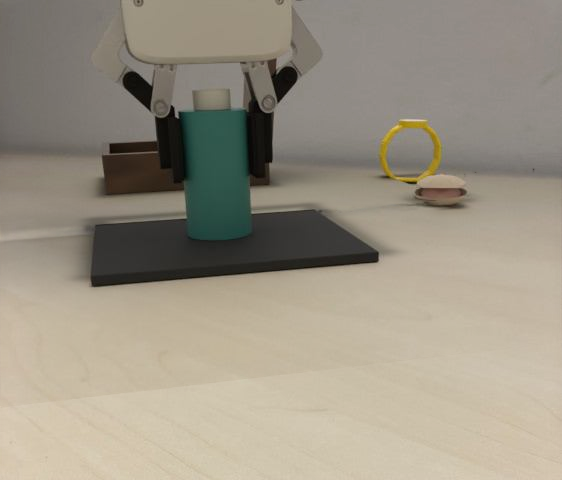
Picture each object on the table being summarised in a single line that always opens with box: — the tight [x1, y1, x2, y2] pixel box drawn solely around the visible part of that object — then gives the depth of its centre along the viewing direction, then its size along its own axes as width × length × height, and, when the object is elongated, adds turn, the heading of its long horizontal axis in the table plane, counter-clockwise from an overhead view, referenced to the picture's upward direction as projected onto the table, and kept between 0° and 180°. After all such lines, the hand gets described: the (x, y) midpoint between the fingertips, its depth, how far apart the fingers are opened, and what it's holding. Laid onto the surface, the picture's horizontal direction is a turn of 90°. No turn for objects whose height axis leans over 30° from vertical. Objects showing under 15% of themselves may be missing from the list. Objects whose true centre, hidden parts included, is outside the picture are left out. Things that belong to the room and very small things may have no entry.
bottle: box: [177, 88, 252, 241], centre depth 47 cm, size 4×4×9 cm
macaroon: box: [414, 173, 468, 207], centre depth 59 cm, size 4×5×2 cm
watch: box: [378, 118, 442, 183], centre depth 70 cm, size 6×3×6 cm, turn 97°
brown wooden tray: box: [101, 139, 271, 196], centre depth 71 cm, size 15×12×4 cm
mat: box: [90, 208, 380, 287], centre depth 49 cm, size 17×17×1 cm
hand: (216, 175), depth 47 cm, fingers open, 4 cm apart
